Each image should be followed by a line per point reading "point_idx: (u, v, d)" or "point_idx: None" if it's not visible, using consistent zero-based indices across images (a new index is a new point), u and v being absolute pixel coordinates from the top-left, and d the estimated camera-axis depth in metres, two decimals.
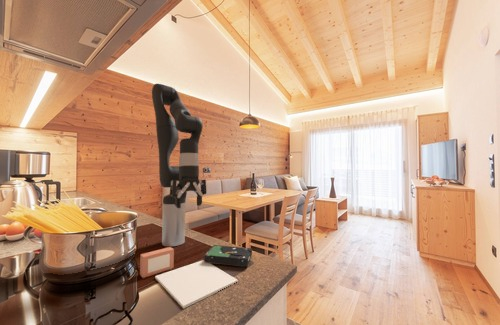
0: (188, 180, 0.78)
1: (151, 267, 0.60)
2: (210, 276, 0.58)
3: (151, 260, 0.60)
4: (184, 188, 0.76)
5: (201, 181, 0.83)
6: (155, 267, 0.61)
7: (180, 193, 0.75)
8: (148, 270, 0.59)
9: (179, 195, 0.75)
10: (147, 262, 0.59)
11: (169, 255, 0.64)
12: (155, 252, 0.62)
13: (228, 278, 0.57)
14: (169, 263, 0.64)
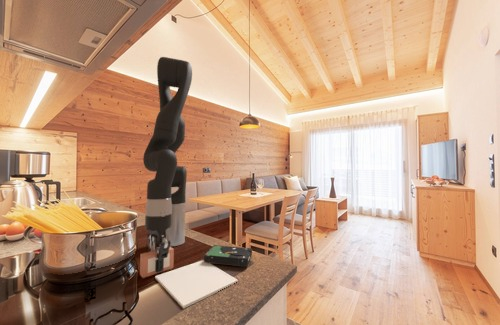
0: None
1: (151, 267, 0.60)
2: (210, 276, 0.58)
3: (151, 260, 0.60)
4: None
5: None
6: None
7: None
8: (148, 270, 0.59)
9: None
10: (147, 262, 0.59)
11: (169, 255, 0.64)
12: None
13: (228, 278, 0.57)
14: (169, 263, 0.64)
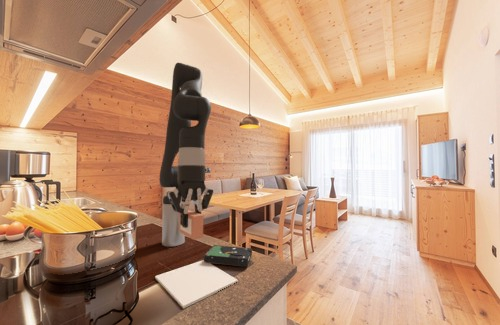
0: None
1: None
2: (210, 276, 0.58)
3: None
4: None
5: None
6: None
7: None
8: None
9: None
10: None
11: None
12: (192, 213, 0.56)
13: (228, 278, 0.57)
14: None
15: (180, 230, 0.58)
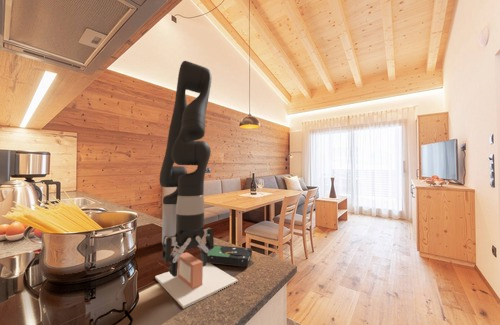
0: None
1: None
2: (210, 276, 0.58)
3: None
4: None
5: None
6: None
7: None
8: None
9: None
10: None
11: None
12: (191, 258, 0.56)
13: (228, 278, 0.57)
14: None
15: (179, 275, 0.57)
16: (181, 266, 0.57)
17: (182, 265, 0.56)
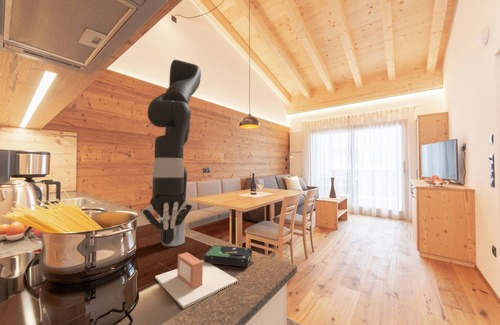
0: None
1: None
2: (210, 276, 0.58)
3: None
4: None
5: None
6: None
7: None
8: None
9: None
10: None
11: None
12: (191, 258, 0.56)
13: (228, 278, 0.57)
14: None
15: (179, 275, 0.57)
16: (181, 266, 0.57)
17: (182, 265, 0.56)
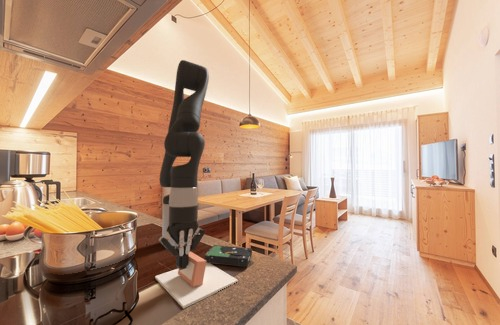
0: None
1: None
2: (210, 276, 0.58)
3: None
4: None
5: None
6: None
7: None
8: None
9: None
10: None
11: None
12: (195, 257, 0.57)
13: (228, 278, 0.57)
14: None
15: (180, 273, 0.58)
16: None
17: None
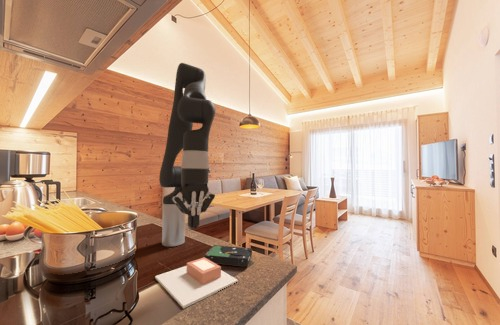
0: None
1: None
2: None
3: None
4: None
5: None
6: None
7: None
8: None
9: None
10: None
11: None
12: None
13: (228, 278, 0.57)
14: None
15: (190, 263, 0.60)
16: (200, 261, 0.61)
17: (202, 262, 0.61)
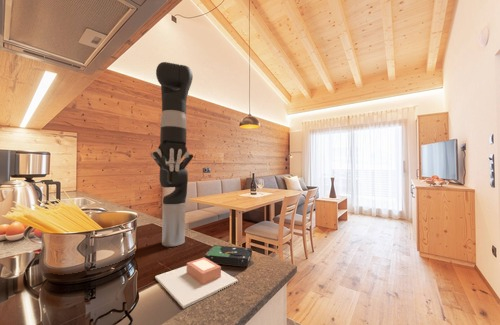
0: None
1: None
2: None
3: None
4: None
5: None
6: None
7: None
8: None
9: None
10: None
11: None
12: None
13: (228, 278, 0.57)
14: None
15: (190, 263, 0.60)
16: (200, 261, 0.61)
17: (202, 262, 0.61)
